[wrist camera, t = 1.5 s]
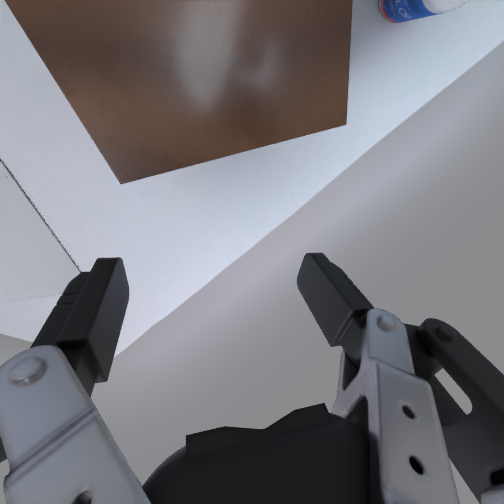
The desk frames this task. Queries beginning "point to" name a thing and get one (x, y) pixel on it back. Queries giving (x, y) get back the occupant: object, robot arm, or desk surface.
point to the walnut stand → (193, 73)
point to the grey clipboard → (28, 248)
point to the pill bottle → (416, 8)
